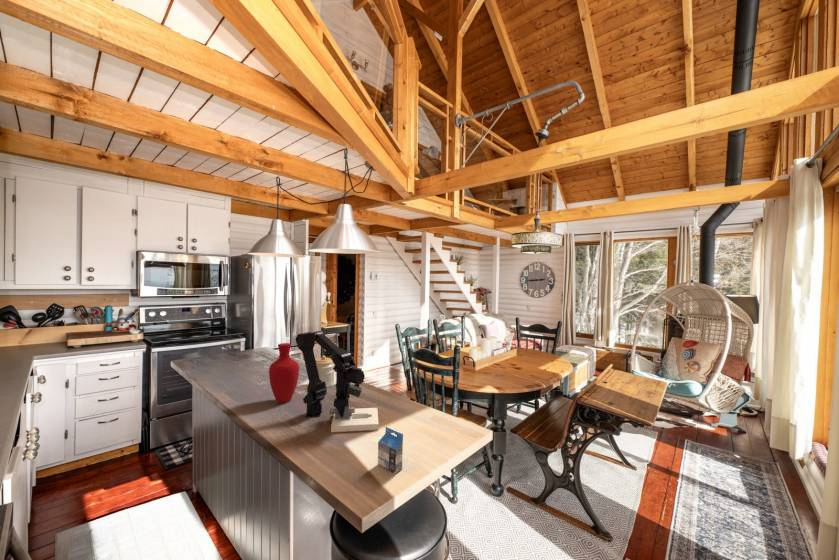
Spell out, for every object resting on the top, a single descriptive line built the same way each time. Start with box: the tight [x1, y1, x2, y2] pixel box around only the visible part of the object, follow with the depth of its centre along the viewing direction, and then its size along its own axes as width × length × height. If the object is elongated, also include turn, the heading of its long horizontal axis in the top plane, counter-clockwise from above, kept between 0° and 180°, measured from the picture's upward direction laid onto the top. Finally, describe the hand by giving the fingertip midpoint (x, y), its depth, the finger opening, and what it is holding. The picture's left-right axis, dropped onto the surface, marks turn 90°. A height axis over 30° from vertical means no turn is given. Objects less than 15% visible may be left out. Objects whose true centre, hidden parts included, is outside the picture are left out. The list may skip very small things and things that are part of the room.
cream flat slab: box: [330, 407, 379, 433], centre depth 155 cm, size 20×18×3 cm
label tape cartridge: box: [377, 426, 404, 475], centre depth 119 cm, size 9×4×12 cm, turn 50°
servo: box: [328, 404, 356, 419], centre depth 154 cm, size 11×4×6 cm, turn 99°
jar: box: [315, 355, 336, 388], centre depth 206 cm, size 13×13×18 cm
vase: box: [268, 342, 300, 404], centre depth 178 cm, size 15×15×30 cm
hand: (342, 414), depth 154 cm, fingers closed on servo, 4 cm apart
